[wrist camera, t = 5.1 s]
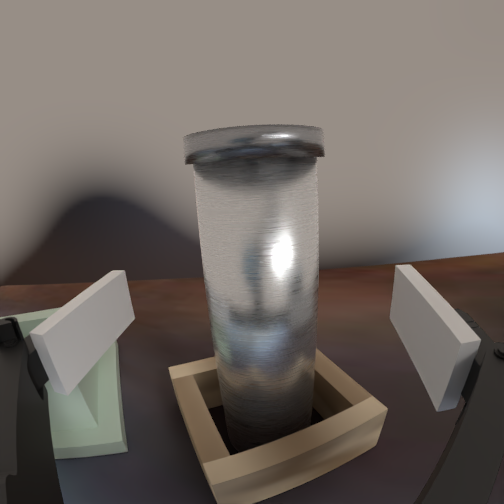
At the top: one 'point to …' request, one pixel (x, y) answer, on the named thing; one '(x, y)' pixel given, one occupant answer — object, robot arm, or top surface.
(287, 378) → the silver capped cylinder
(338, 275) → the top surface
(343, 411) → the mount
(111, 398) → the socket
